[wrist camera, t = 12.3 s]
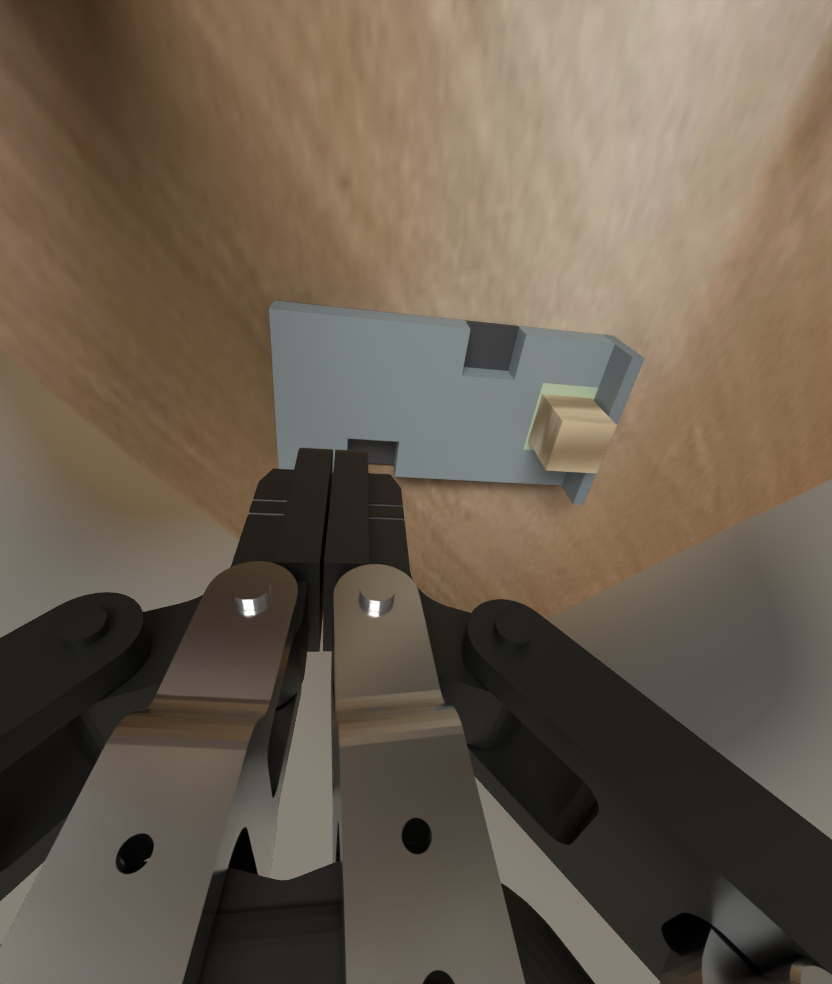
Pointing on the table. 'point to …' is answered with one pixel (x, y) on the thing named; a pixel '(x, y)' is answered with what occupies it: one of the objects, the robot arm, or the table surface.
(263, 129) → the table surface
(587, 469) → the beech block
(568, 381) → the plate
